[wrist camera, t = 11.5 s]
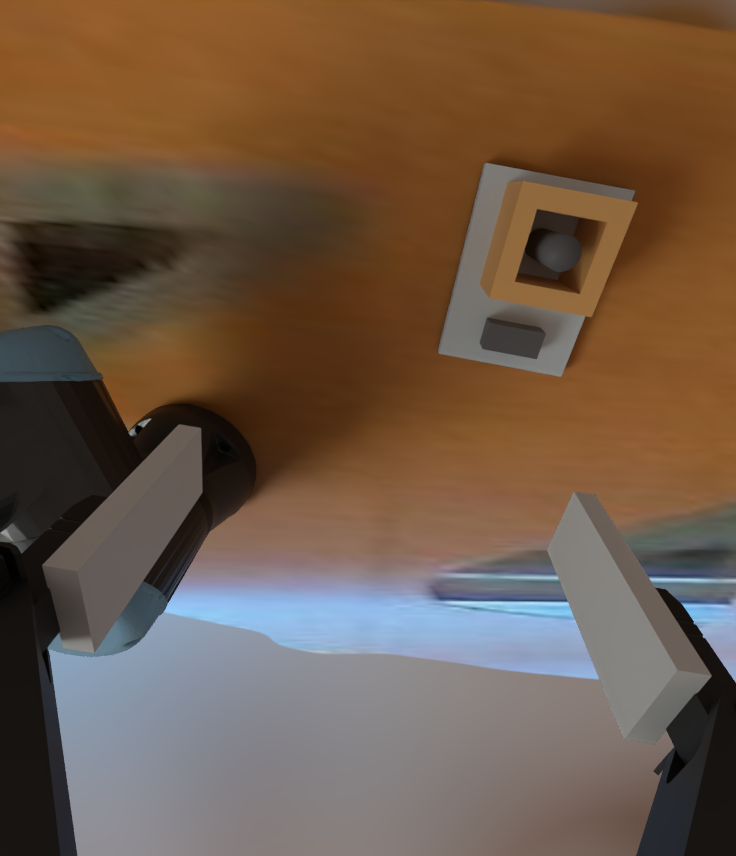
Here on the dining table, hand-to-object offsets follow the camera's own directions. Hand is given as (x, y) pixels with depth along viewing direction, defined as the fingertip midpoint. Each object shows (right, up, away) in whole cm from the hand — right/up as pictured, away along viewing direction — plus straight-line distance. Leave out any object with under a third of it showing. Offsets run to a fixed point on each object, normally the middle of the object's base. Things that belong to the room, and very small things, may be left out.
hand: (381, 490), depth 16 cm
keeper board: (+14, +16, +24) cm, 32 cm away
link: (+14, +18, +22) cm, 31 cm away
